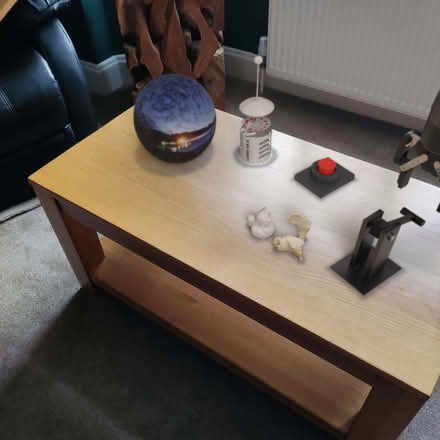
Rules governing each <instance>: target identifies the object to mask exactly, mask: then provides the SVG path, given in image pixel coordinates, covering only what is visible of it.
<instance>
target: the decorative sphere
mask: <svg viewBox="0 0 440 440" xmlns="http://www.w3.org/2000/svg"><path fill="white" fill-rule="evenodd" d="M133 106H134V107H133V115H132V116H133V118H132V120H133V128H134V131H135V134H136V136H137V139H138V141H139V142H140V144H141V145H142V147H143V148H144V149H145V150H146V151H147V152H148V153H149V154H150V155H152V156H153V158H154V157H155V158H156V159H158V160H160V161H162V162H166V163H170V164H182V163H187V162H191V161H193V160H195V159H196V158H198V157H200V156H201V155H202V154H203V153H204V152H205V151H206V150H207V149H208V147H209V146H210V145H211V143H212V141H213V139H214V136H215V133H216V128H217V111H216V108H215V103H214V101H213V99H212V97H211V96H210V94H209V92H208V91H207V90H206V88H205V87H204V86H203V85H202V84H201V83H199V82H198V81H197V80H195V79H193V78H192V77H190V76H187V75H184V74H179V73H168V74H162V75H160V76H157V77H155V78H153V79H151V80H150V81H149V82H148V83H146V84H145V86H144V87H143V88H142V89H141V90H140V92H139V93H138V95H137V97H136V100H135V103H134V105H133Z"/></svg>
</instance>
